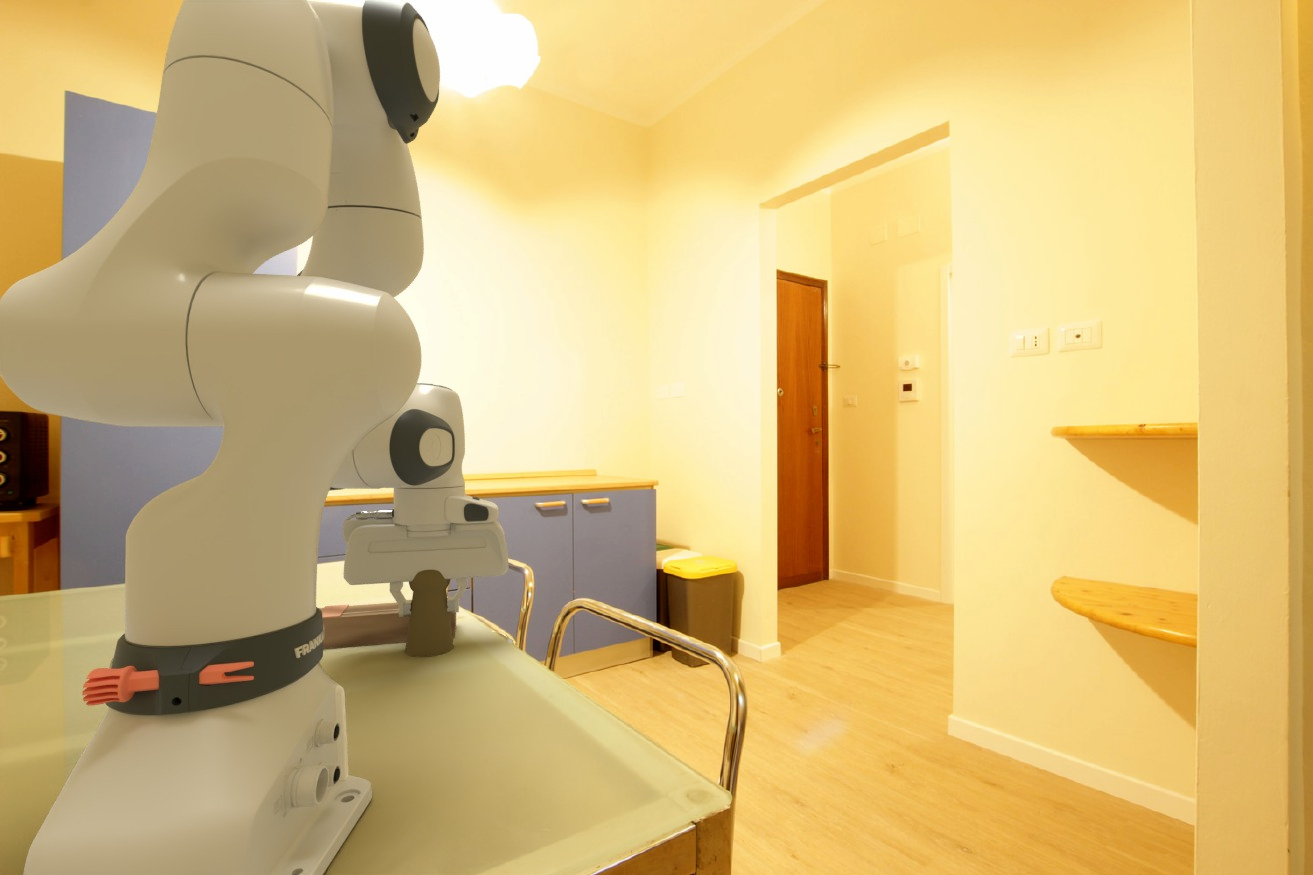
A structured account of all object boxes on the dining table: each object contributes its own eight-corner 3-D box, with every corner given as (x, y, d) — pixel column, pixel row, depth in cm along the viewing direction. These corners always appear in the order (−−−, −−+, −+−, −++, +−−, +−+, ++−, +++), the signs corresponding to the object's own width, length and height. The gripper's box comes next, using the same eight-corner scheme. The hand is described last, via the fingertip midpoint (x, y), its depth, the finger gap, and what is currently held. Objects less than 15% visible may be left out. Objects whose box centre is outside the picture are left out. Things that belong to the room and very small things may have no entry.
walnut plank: (454, 637, 84) (454, 607, 84) (292, 651, 78) (292, 619, 79) (456, 625, 90) (456, 596, 90) (305, 637, 84) (305, 607, 84)
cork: (421, 660, 75) (421, 571, 75) (395, 650, 79) (395, 566, 79) (463, 647, 80) (463, 564, 80) (436, 638, 84) (437, 559, 84)
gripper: (337, 513, 74) (336, 627, 74) (509, 508, 80) (509, 613, 79) (348, 508, 80) (347, 613, 80) (507, 503, 86) (507, 601, 85)
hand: (429, 613), depth 80 cm, fingers closed on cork, 4 cm apart
